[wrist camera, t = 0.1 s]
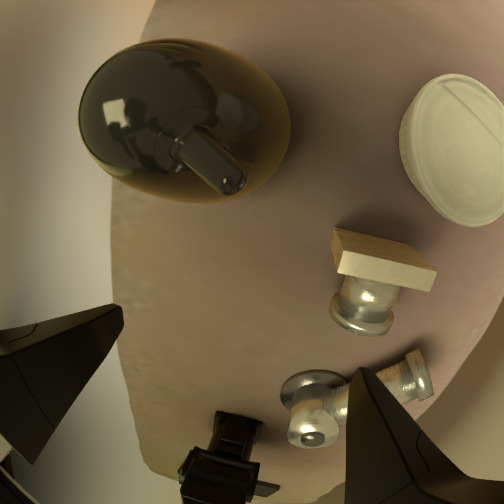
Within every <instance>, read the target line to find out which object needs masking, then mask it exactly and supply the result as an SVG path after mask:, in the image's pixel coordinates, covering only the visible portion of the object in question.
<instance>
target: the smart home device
mask: <svg viewBox="0 0 504 504" xmlns="http://www.w3.org/2000/svg"><path fill="white" fill-rule="evenodd" d="M279 488H280V486H279V485H276V484H271V483H267V482H263V481H258V480H257V484H256V488H255V492H254V495H257V496H261V497H268V496H269V495H271V494H273V493H275V492H277V491H278V490H279Z"/></svg>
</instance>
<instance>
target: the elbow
mask: <svg viewBox="0 0 504 504" xmlns="http://www.w3.org/2000/svg"><path fill="white" fill-rule="evenodd" d="M405 358H406V360H404V361H402V362H400V363H397V364H395V365H393V366H391V367H388V368H386V369H384V370H382V371H379V372H377V373H375V374H376V375H377V377H378V378H379V379H380V380H381V381H382V382H383V384H384V385H385V386H386V387H387V388H388V390H389V391H390V392H391V393H392V394H393V395H394V397H395V398H396V399H397V400H398V401H399V403H400V404H401V405H403V404H405V403H407V402H410V401H412V400H414V399H416V398H418V399H419V401H423V400H425V399H427V398H429V397H431V396H433V395H434V392H433V386H432V382H431V379H430V375H429V372H428V369H427V366H426V363H425V361H424V358H423V356H422V354H421V352H420V350H419V349H416V350H414V351H412V352H410V353H408V354H406V355H405ZM349 385H350V383H348V384H346V385H343V386H340V387H337V388H334V389H332V388H331V387H329V386H325V385H319V384H314V385H308V386H304V387H302V388H300V389H298V390H297V391H296V392H295V393H294V394H293V397H292V404H291V412H290V419H289V426H288V433H287V439H288V441H289V442H290V443H291V444H293V445H295V446H297V447H300V448H306V449H316V448H323V447H326V446H329V445H331V444H333V443H334V442H335V441H336V440H337V439H338V437H339V427H340V426H344V425H346V417H347V406H348V393H349Z"/></svg>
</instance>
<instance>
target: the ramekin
mask: <svg viewBox="0 0 504 504" xmlns="http://www.w3.org/2000/svg"><path fill="white" fill-rule="evenodd" d="M399 149H400V156H401V160H402V163H403V166H404V169H405V171H406V173H407V176H408V177H409V179H410V180H411V182H412V184H413V185H414V186H415V187H416V189H417V190H418V191H419V192H420V193H421V194H422V195H423V196H424V197H425V198H426V200H427V201H428V202H429V203H430V205H431V206H432V207H433V208H434V209H435V210H436V211H437V212H438V213H440V214H441V215H442V216H443V217H445V218H447V219H448V220H450V221H452V222H454V223H457V224H459V225H462V226H467V227H480V226H484V225H487V224H490V223H492V222H493V221H495V220H496V219H498V218H499V217H500V216H501V215H502V214H503V213H504V106H503V105H502V103H501V102H500V101H499V99H498V98H497V97H496V96H495V95H494V93H493V92H492V91H490V90H489V89H488V88H487V87H486V86H485V85H483V84H482V83H480V82H479V81H477V80H475V79H473V78H471V77H469V76H465V75H462V74H454V73H452V74H444V75H441V76H438V77H436V78H434V79H432V80H430V81H429V82H428V83H426V84H425V85H424V86H423V87H422V88H421V89H420V90H419V92H418V93H417V95H416V96H415V98H414V100H413V102H412V103H411V104H410V106H409V107H408V108H407V110H406V113H405V114H404V116H403V119H402V121H401V126H400V129H399Z"/></svg>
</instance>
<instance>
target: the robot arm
mask: <svg viewBox="0 0 504 504" xmlns="http://www.w3.org/2000/svg"><path fill="white" fill-rule="evenodd" d="M123 327H124V319H123V311H122V307H121V306H119V305H116V304H113V303H112V304H108V305H104V306H100V307H96V308H93V309H89V310H85V311H81V312H78V313H74V314H70V315H66V316H62V317H58V318H54V319H50V320H46V321H43V322H39V323H34V324H31V325H26V326H22V327H16V328H11V329H5V330H0V504H40V503H39V502H37V501H36V500H35V499H34V498H33V497H32V496H30V494H29V493H27V492H26V491H25V490H24V489H23V488H22V487H21V486H20V485H19V484H18V483H17V482H16V481H15V480H14V476H13V470H12V462H11V456H10V455H9V454H8V453H9V452H10V451H11V450H12V449H13V448H14V449H15V450H16V451H17V452H18V453H19V454H20V455H21V456H22V457H23V458H24V459H25V460H26V461H27V462H28V463H29V464H30V465H31V466H32V465H33V464H34V463H35V461H36V460H37V458H38V456H39V455H40V453H41V452H42V450H43V448H44V447H45V445H46V444H47V442H48V440H49V439H50V437H51V436H52V434H53V432H54V431H55V429H56V428H57V426H58V425H59V423H60V422H61V420H62V418H63V417H64V416H65V414H66V413H67V411H68V409H69V408H70V407H71V405H72V404H73V402H74V401H75V399H76V398H77V396H78V395H79V394H80V392H81V391H82V390H83V388H84V387H85V385H86V384H87V382H88V381H89V379H90V378H91V377H92V375H93V374H94V373H95V371H96V370H97V369H98V367H99V366H100V365H101V363H102V362H103V360H104V359H105V358H106V356H107V355H108V353H109V351H110V350H111V348H112V346H113V344H114V343H115V341H116V339H117V338H118V336H119V334H120V333H121V331H122V329H123ZM261 428H262V422H259V421H254V420H250V419H246V418H242V417H237V416H234V415H230V414H226V413H222V412H216V413H215V418H214V428H213V435H212V438H211V441H210V443H209V446H208V448H207V450H204V449H201V448H199V447H197V446H195V447H194V449H193V450H190V452H189V454H188V456H187V458H186V460H185V461H184V463H183V464H182V465H181V467H180V468H179V469H178V474H179V476H180V477H179V484H181V485H182V486H181V489H180V493H181V499H182V503H183V504H245V503H246V502H247V503H250V502H251V500H252V498H253V495H254V492H255V488H256V484H257V479H258V474H259V468H260V463H258V462H256V463H255V462H250V461H249V460H250V456H251V452H252V448H253V445H254V444H256V441H257V438H258V436H259V433H260V430H261ZM344 504H504V481H495V480H484V479H476V478H472V477H469V476H467V475H466V474H464V473H463V472H462V471H461V470H460V469H459V468H458V467H457V466H456V465H455V464H453V462H451V460H450V459H449V458H447V457H446V456H445V455H444V454H443V453H442V452H441V450H440V449H439V448H438V447H437V446H436V445H435V444H434V443H433V442H432V441H431V440H430V438H428V436H427V435H426V434H425V432H424V431H423V430H421V428H420V427H419V425H418V424H417V423H416V422H415V421H414V419H413V418H412V417H411V416H410V415H409V413H408V412H407V411H406V410H405V409H404V407H403V406H402V405H401V404H400V403H399V401H398V400H397V399H396V398H395V397H394V395H393V394H392V393H391V392H390V391H389V390H388V388H387V387H386V386H385V385H384V384H383V382H382V381H381V380H380V379H379V378H378V377H377V375H376V374H375V373H374V372H373V371H372V370H371V369H370V368H368V367H359V368H358V369H357V371H356V373H355V375H354V376H353V378H352V380H351V382H350V385H349V393H348V406H347V417H346V482H345V502H344Z"/></svg>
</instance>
